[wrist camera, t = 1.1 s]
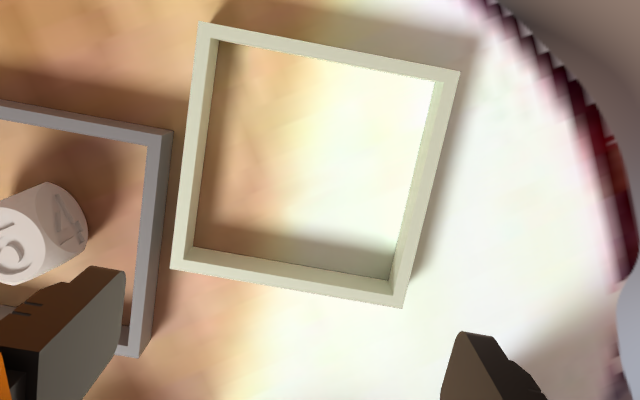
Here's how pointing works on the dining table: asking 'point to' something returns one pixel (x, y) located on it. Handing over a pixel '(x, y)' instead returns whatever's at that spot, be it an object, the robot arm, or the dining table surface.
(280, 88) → the dining table surface
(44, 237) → the die
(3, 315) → the gray frame
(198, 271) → the sage frame
